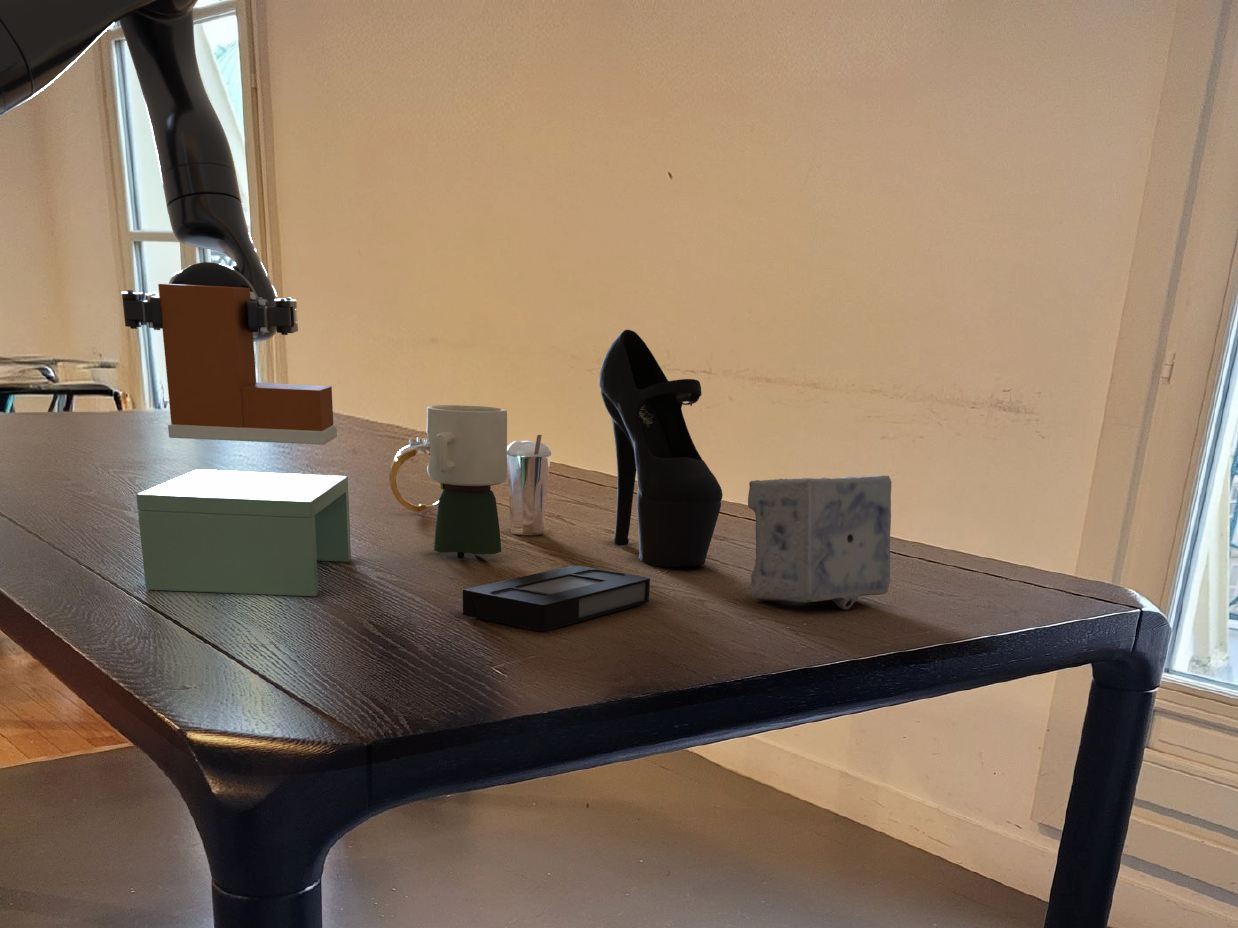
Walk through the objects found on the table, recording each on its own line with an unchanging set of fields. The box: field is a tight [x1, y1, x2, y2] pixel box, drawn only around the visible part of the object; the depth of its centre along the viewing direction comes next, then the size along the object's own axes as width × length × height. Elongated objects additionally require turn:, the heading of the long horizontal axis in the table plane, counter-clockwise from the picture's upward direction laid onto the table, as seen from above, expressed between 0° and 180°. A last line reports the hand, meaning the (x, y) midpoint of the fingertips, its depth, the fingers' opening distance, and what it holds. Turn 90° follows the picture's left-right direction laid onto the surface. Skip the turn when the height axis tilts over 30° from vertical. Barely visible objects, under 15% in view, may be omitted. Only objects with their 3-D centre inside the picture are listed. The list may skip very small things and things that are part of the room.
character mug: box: [425, 404, 508, 560], centre depth 116 cm, size 11×7×13 cm, turn 161°
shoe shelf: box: [135, 468, 352, 597], centre depth 105 cm, size 13×16×7 cm
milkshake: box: [507, 434, 552, 537], centre depth 129 cm, size 4×5×10 cm
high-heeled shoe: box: [598, 329, 723, 568], centre depth 119 cm, size 8×19×20 cm, turn 32°
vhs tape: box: [462, 564, 651, 632], centre depth 99 cm, size 8×14×2 cm, turn 147°
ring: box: [389, 436, 438, 516], centre depth 138 cm, size 7×3×8 cm, turn 100°
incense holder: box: [747, 474, 892, 611], centre depth 105 cm, size 10×8×10 cm
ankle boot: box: [157, 283, 338, 446], centre depth 100 cm, size 12×6×11 cm, turn 93°
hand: (205, 314), depth 97 cm, fingers closed on ankle boot, 6 cm apart
